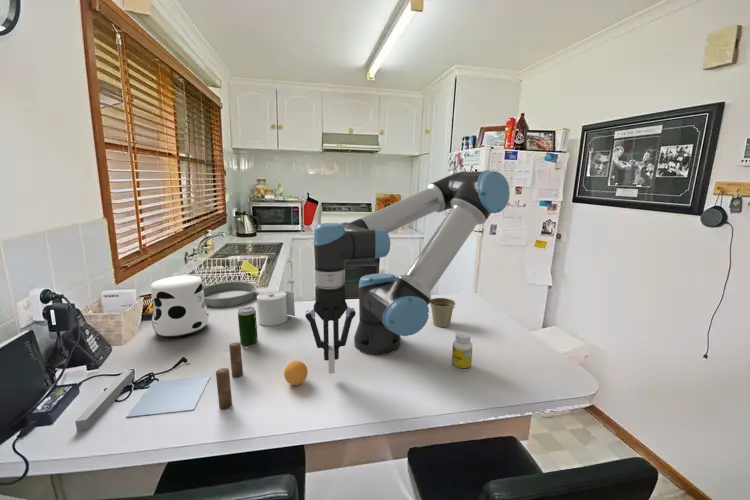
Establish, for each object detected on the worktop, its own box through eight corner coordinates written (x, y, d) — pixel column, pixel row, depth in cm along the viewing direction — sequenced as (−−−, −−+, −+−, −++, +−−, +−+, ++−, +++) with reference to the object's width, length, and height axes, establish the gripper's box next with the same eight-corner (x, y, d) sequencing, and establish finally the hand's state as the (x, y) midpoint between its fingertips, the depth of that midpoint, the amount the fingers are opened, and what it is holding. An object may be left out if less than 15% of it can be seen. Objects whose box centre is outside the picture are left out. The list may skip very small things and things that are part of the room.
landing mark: (210, 376, 93) (210, 376, 93) (193, 410, 80) (193, 409, 80) (153, 382, 91) (153, 381, 91) (126, 417, 77) (126, 416, 77)
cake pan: (219, 313, 139) (218, 302, 138) (186, 301, 152) (185, 291, 151) (268, 296, 159) (268, 286, 158) (235, 287, 172) (234, 278, 171)
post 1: (233, 401, 83) (230, 367, 81) (230, 409, 80) (227, 374, 78) (221, 402, 82) (217, 368, 81) (217, 410, 80) (214, 375, 78)
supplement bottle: (447, 364, 100) (449, 332, 98) (462, 360, 102) (464, 329, 100) (459, 373, 95) (461, 340, 93) (475, 369, 97) (477, 337, 95)
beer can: (242, 349, 108) (239, 313, 106) (238, 343, 113) (235, 308, 110) (260, 345, 111) (257, 310, 109) (255, 338, 116) (253, 304, 113)
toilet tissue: (252, 322, 129) (250, 296, 127) (277, 312, 139) (276, 288, 137) (271, 328, 123) (269, 302, 121) (296, 317, 133) (295, 293, 131)
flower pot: (425, 327, 125) (426, 304, 123) (431, 317, 133) (432, 296, 132) (451, 331, 121) (453, 308, 120) (456, 321, 130) (457, 299, 128)
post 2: (243, 371, 96) (241, 341, 94) (241, 377, 93) (239, 346, 91) (233, 372, 95) (230, 342, 93) (230, 378, 93) (228, 347, 91)
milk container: (220, 322, 128) (215, 276, 125) (185, 344, 112) (178, 291, 108) (180, 318, 132) (175, 273, 129) (141, 338, 116) (133, 287, 112)
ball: (308, 375, 94) (307, 355, 93) (308, 388, 88) (307, 367, 87) (285, 377, 93) (284, 357, 92) (283, 391, 87) (282, 369, 86)
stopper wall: (134, 378, 93) (133, 369, 92) (87, 430, 73) (85, 420, 73) (126, 378, 92) (124, 370, 92) (77, 431, 73) (75, 421, 73)
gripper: (303, 290, 82) (306, 380, 87) (357, 288, 84) (357, 375, 89) (304, 281, 89) (306, 365, 94) (354, 279, 92) (354, 361, 96)
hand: (331, 370), depth 92 cm, fingers closed
